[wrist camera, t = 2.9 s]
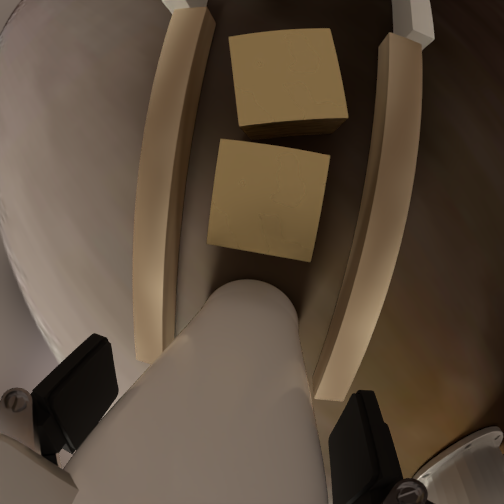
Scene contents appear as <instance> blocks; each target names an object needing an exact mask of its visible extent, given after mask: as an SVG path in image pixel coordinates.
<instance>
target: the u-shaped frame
mask: <svg viewBox="0 0 504 504" xmlns="http://www.w3.org/2000/svg"><path fill="white" fill-rule="evenodd" d="M162 2H163V3H164V4H165V6H166V7H167V8H168V9H169V10H170V12H171V13H172V14H173V12H174V9H182V8H194V7H206V5H207V2H208V0H162ZM392 11H393V33H394V34H397V35H399V36H402V37H405V38H407V39H410V40H413V41H415V42H418V43H420V44H422V50H423V49H424V48H425V47H426V46H428V45H429V44H430V43H431V42H432V41H433V40H434V39H435V37H434V28H433V19H432V12H431V6H430V0H392Z"/></svg>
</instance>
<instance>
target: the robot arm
mask: <svg viewBox="0 0 504 504" xmlns="http://www.w3.org/2000/svg"><path fill="white" fill-rule="evenodd" d="M118 391H119V390H118V384H117V379H116V373H115V367H114V361H113V354H112V347H111V343H109V342H108V339H107V338H106V337H103V336H101V335H98V334H95V333H94V334H92V335H91V336H90V337H88V338H87V339H86V340H85V341H84V342H83V343H82V344H81V345H80V346H79V347H77V348H76V349H75V350H74V351H73V352H72V353H71V354H70V355H69V356H68V357H67V358H66V359H65V360H63V361H62V362H61V363H60V364H59V365H58V366H57V367H56V368H55V369H54V370H53V371H52V372H51V373H50V374H49V375H48V376H47V377H46V378H45V379H44V380H43V381H42V382H40V383H39V384H38V386H36V387H35V388H34V389H33V392H32V393H31V394H30V393H29V392H28V391H26V390H24V389H22V388H11V389H9V390H7V391H6V392H5V393H4V394H3V395H2V397H1V400H0V504H72V503H73V501H74V499H75V497H76V495H77V493H78V491H79V489H78V488H77V486H76V484H75V483H74V481H73V479H72V477H71V475H70V473H68V472H66V471H65V470H63V469H62V465H61V460H60V455H59V452H60V450H61V449H62V448H63V449H64V450H66V451H68V452H69V453H71V454H73V453H74V451H75V450H77V449H78V448H79V446H80V445H81V444H82V443H83V441H84V440H85V439H86V437H87V436H88V435H89V434H90V432H91V431H92V430H93V429H94V428H95V426H96V425H97V424H98V423H99V421H100V420H101V418H102V417H103V415H104V414H105V413H106V411H107V410H108V408H109V407H110V406H111V404H112V403H113V401H114V400H115V399H116V397H117V395H118ZM502 439H503V432H502V431H501V429H500V428H499V427H497V426H494V427H488V428H484V429H482V430H479V431H477V432H475V433H473V434H471V435H469V436H467V437H465V438H463V439H462V440H460V441H458V442H457V443H455V444H453V445H452V446H450V447H449V448H447V449H446V450H444V451H443V452H441V453H440V454H438V455H437V456H436V457H434V458H433V459H432V460H430V461H429V462H428V463H427V464H426V465H424V466H423V467H422V468H421V469H420V470H419V471H418V472H417V473H416V474H415V476H414V477H413V478H406V479H403V476H402V472H401V468H400V465H399V461H398V458H397V454H396V451H395V447H394V444H393V440H392V437H391V434H390V430H389V427H388V425H387V424H386V423H384V421H383V418H382V415H381V411H380V408H379V405H378V402H377V399H376V396H375V393H374V391H369V390H358V391H357V393H356V394H355V393H353V394H352V395H351V397H350V399H349V401H348V403H347V405H346V407H345V409H344V411H343V413H342V415H341V416H340V418H339V420H338V422H337V424H336V425H335V427H334V429H333V431H332V432H331V434H330V436H329V442H328V443H329V454H330V466H331V479H332V495H333V504H504V454H502V453H501V451H500V449H499V446H500V444H501V442H502ZM427 498H428V500H427Z"/></svg>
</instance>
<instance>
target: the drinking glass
mask: <svg viewBox="0 0 504 504" xmlns="http://www.w3.org/2000/svg"><path fill="white" fill-rule="evenodd" d="M63 470H65V471H66V472H68V473H70V475H71V477H72V479H73V481H74V483H75V484H76V486H77V488H78V489H79V491H78V493H77V495H76V497H75V499H74V501H73V503H72V504H328V494H327V485H326V477H325V470H324V464H323V458H322V452H321V446H320V440H319V435H318V430H317V424H316V419H315V414H314V408H313V403H312V398H311V393H310V388H309V383H308V378H307V373H306V368H305V363H304V358H303V352H302V347H301V342H300V337H299V323H298V316H297V313H296V310H295V308H294V306H293V304H292V302H291V301H290V300H289V298H288V297H287V296H286V295H285V294H284V293H283V292H282V291H280V290H279V289H278V288H276V287H275V286H273V285H271V284H269V283H266V282H263V281H259V280H253V279H242V280H235V281H232V282H229V283H226V284H224V285H222V286H221V287H219V288H218V289H217V290H215V291H214V292H213V293H212V294H211V295H210V296H209V298H208V299H207V300H206V302H205V303H204V305H203V307H202V308H201V310H200V311H199V312H198V313H197V314H196V315H195V316H194V318H193V319H192V320H191V321H190V322H189V323H188V324H187V326H186V327H185V328H184V329H183V330H182V331H181V332H180V333H179V334H178V336H177V337H176V338H175V339H174V340H173V341H172V342H171V343H170V344H169V346H168V347H167V348H166V349H165V350H164V351H163V352H162V353H161V354H160V355H159V357H158V358H157V359H156V360H155V361H154V362H153V363H152V364H151V365H150V366H149V367H148V369H147V370H146V371H145V372H144V373H143V374H142V375H141V376H140V377H139V378H138V379H137V381H136V382H135V383H134V384H133V385H132V386H131V387H130V388H129V389H128V390H127V392H126V393H125V394H124V395H123V396H122V397H121V398H120V399H119V400H118V401H117V402H116V404H115V405H114V406H113V407H112V408H111V409H110V410H109V411H108V413H107V414H106V415H105V416H104V417H103V418H102V419H101V421H100V422H99V423H98V424H97V425H96V426H95V428H94V429H93V430H92V431H91V432H90V434H89V435H88V436H87V437H86V439H85V440H84V441H83V443H82V444H81V445H80V446H79V448H78V449H77V450H76V452H75V453H74V454H73V456H72V457H71V459H70V460H69V461H68V463H67V464H66V466H65V467H64V469H63Z"/></svg>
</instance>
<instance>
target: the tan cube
mask: <svg viewBox="0 0 504 504" xmlns="http://www.w3.org/2000/svg"><path fill="white" fill-rule="evenodd" d="M229 45H230V54H231V62H232V71H233V79H234V88H235V96H236V105H237V113H238V122H239V127H240V128H241V129H242V130H243V131H244V132H245V133H246V134H247V136H248V137H249V138H250V139H251V140H260V139H268V138H278V137H289V136H301V135H317V134H332V133H333V132H334V131H335V130H336V129H337V128H338V127H339V126H340V125H341V124H343V123H344V122H345V121H346V120H347V119H348V111H347V105H346V99H345V94H344V88H343V83H342V78H341V73H340V68H339V64H338V59H337V55H336V50H335V46H334V42H333V38H332V34H331V31H330V28H313V29H290V30H277V31H267V32H258V33H250V34H244V35H237V36H231V37H229Z"/></svg>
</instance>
